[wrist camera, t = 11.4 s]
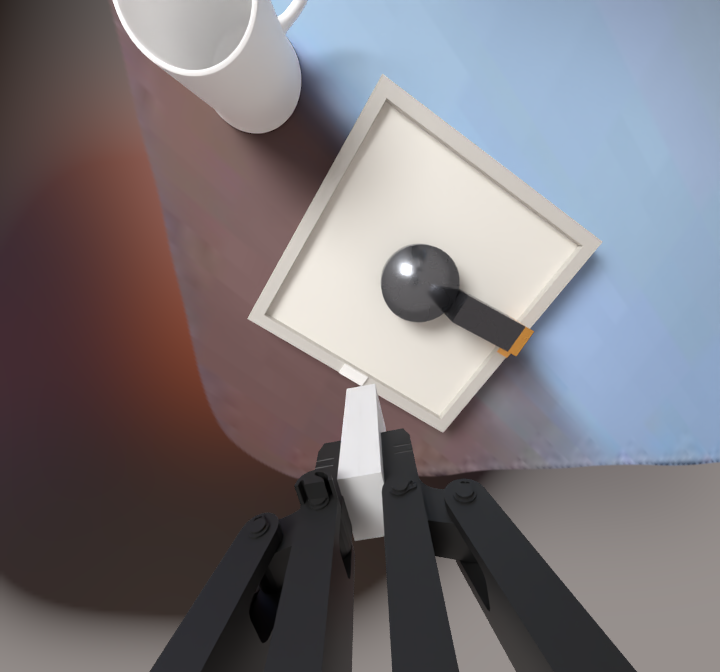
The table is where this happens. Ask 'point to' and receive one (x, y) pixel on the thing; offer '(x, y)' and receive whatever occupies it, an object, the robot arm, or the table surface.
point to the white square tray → (416, 226)
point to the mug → (223, 54)
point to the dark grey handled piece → (444, 297)
